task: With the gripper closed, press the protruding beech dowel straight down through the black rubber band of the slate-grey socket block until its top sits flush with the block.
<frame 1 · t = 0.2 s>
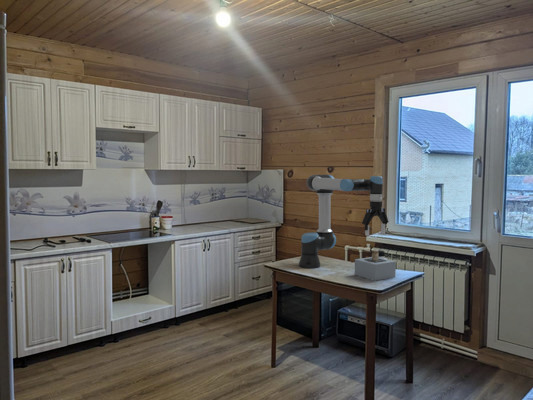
hand: (375, 234, 264), 27 cm above the table, fingers open, 13 cm apart
peg: (375, 258, 270), point 11 cm above the table, slide at 0.0 cm
container: (379, 269, 289), on the table
socket block: (374, 275, 271), on the table
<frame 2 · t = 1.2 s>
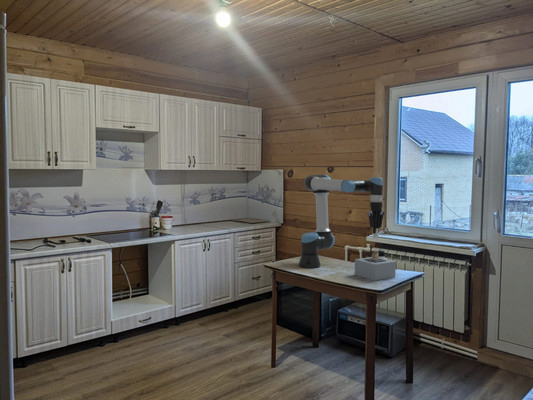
hand: (375, 238, 269), 24 cm above the table, fingers closed
nothing on the table moved.
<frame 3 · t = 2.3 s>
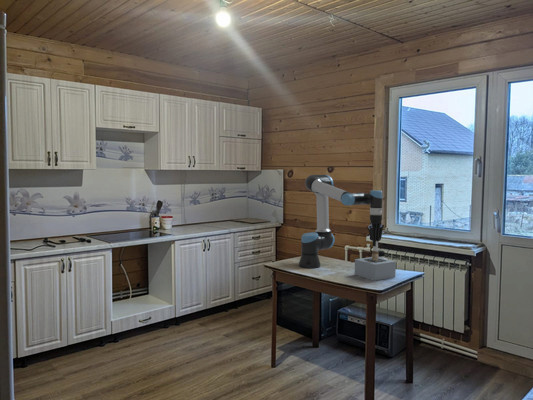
hand: (375, 251, 270), 16 cm above the table, fingers closed
peg: (375, 258, 270), point 11 cm above the table, slide at 0.2 cm, touching gripper
everything else where it was.
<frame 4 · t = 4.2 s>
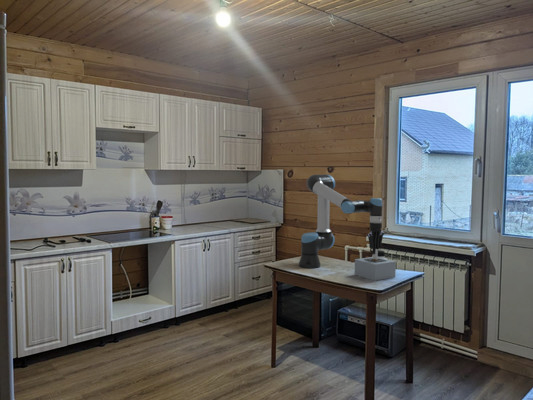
hand: (375, 258, 270), 11 cm above the table, fingers closed
peg: (374, 266, 271), point 6 cm above the table, slide at 5.3 cm, touching gripper
everything else where it was.
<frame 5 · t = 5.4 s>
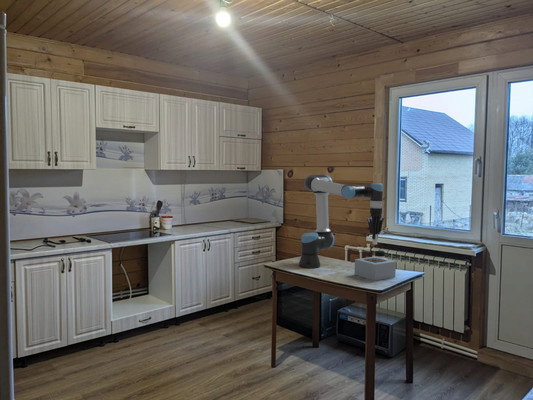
hand: (374, 244, 270), 20 cm above the table, fingers closed
peg: (374, 266, 271), point 6 cm above the table, slide at 5.3 cm
everything else where it was.
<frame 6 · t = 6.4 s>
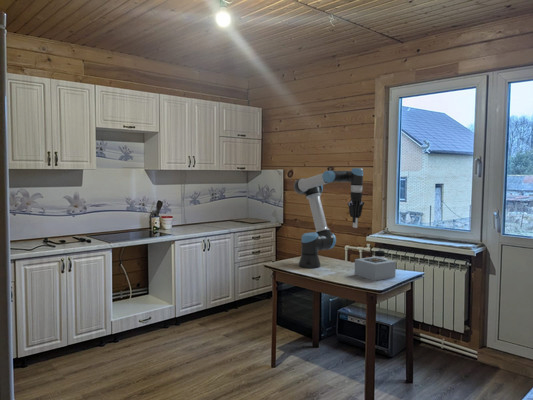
hand: (355, 227, 277), 30 cm above the table, fingers closed
nothing on the table moved.
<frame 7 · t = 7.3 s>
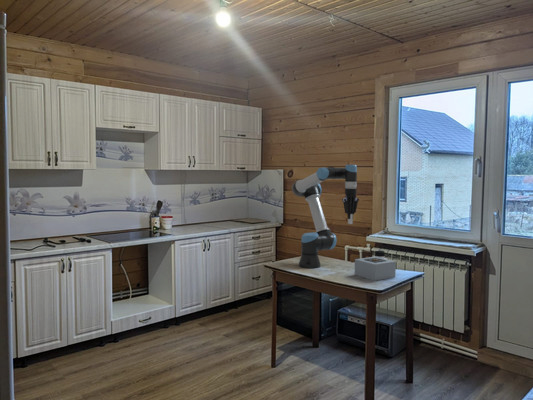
hand: (350, 223, 279), 32 cm above the table, fingers closed
nothing on the table moved.
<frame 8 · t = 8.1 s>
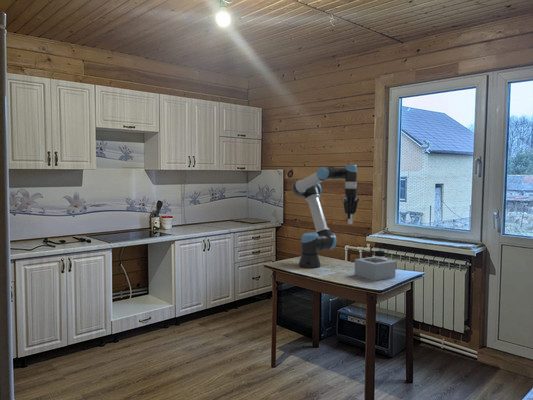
hand: (350, 223, 279), 32 cm above the table, fingers closed
nothing on the table moved.
at the end: peg slide at 5.3 cm; peg touching nothing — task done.
